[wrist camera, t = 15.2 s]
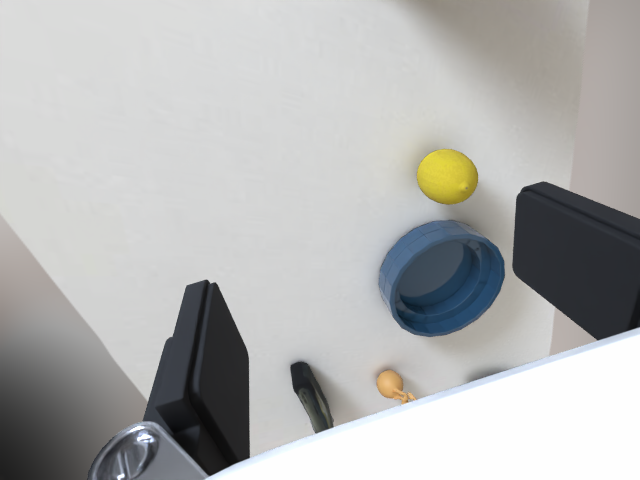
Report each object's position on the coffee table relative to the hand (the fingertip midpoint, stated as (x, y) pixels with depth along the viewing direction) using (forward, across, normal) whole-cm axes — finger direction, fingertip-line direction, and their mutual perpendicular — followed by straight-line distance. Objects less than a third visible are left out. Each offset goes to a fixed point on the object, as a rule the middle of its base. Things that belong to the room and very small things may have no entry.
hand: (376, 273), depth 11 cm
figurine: (+28, -6, +40) cm, 50 cm away
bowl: (+28, -14, +23) cm, 39 cm away
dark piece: (+28, +6, +39) cm, 49 cm away
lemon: (+28, -15, +9) cm, 33 cm away
